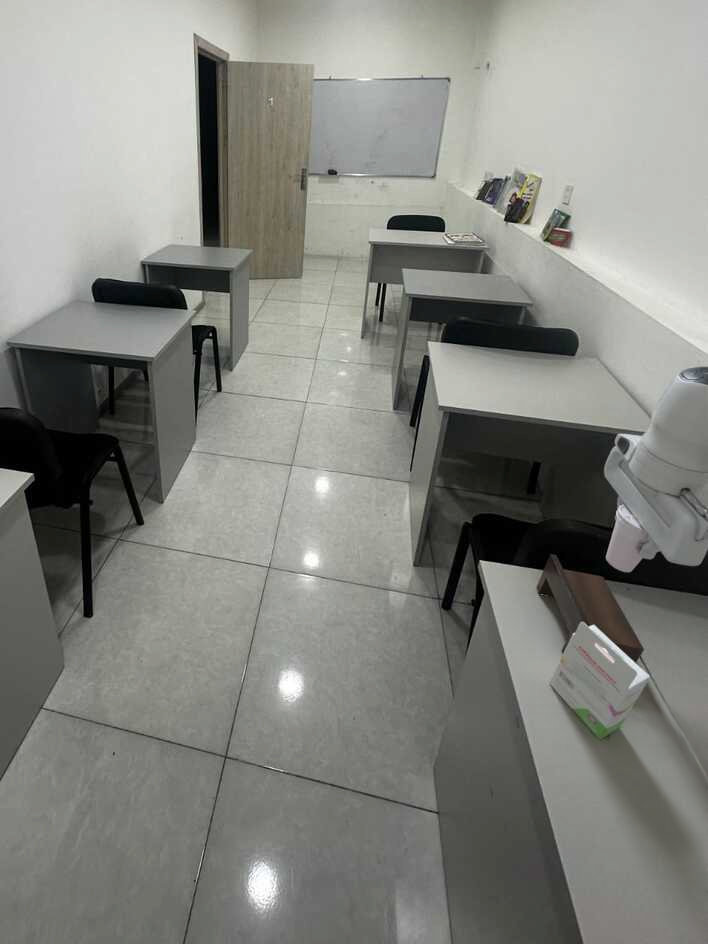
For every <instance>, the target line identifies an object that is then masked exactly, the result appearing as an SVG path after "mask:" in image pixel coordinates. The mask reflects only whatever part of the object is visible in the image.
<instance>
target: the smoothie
mask: <svg viewBox="0 0 708 944" xmlns="http://www.w3.org/2000/svg"><path fill="white" fill-rule="evenodd" d="M615 512H616V513H615V516H616V515H617V520H615V524H614V527H613V530H612V534H611V539H610V541H609V544H608V548H607V552H606V555H605V560H606V561H607V563H608V564H609V565H610V566H611V567H612V568H614V569H616V570H618V571H620V572H623V573H631V572H633V570H634V569H636V566H638V564H639V563H640V562H641V561H642V559H643V558H642V557H641V556H640V555H639V553H638V552H637V550H636V547H638V544H639V542H642V543H648V542H649V541H648V540H647V538H648V536H649V535H648V534H647V532H646V531H645V530H644V528H643V527H642V526H641V524H640V523H639V522H638V520H637V519H636V518H635V516H634V515H633V514H632V512H631V511H630V510H629V508H628V507H627V506H626V504H623V505H621V506H620V507H619V509H618V510H616V511H615Z"/></svg>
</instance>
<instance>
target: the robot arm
mask: <svg viewBox="0 0 708 944" xmlns="http://www.w3.org/2000/svg"><path fill="white" fill-rule="evenodd" d="M650 419H651V422H650V426H649V427H648V429H647V430H646V431H645V432H644V433H643V434H642V435H636V434H628V433H618V434H617V435H616V437H615V440H614V444H615V445H614V446H613V447H612V449H611V450H610V453H609V455H608V456H607V459H606V461H605V464H604V468H603V473H604V478H605V479H606V480H607V481H608V483H609V484H610V485H611V487H612V489H613V490H614V491H615V492H616V493H617V495H618V496H617V499H616V500H617V502H616V504H617V505H616V506H617V507H616V509H617V510H618V509H619V507H620V506H621V505H623V504H626V506H627V507H628V508H629V510H630V511H631V512H632V514H633V515H634V516H635V518H636V519H637V520H638V522H639V523H640V524H641V526H642V527H643V528H644V530H645V531H646V532H647V534H648V535H649V536H648V538H647V540H648V541H649V542H648V543H642V542H639V544H638V547H636V550H637V552H638V553H639V555H640V556H641V557H642V559H645V560H652V559H654V558H655V557H656V554H657V553H659V552H660V553H661V554H662V555H663V556H664V558H665V560H666V561H667V562H670V563H672V564H676V565H680V566H681V565H682V566H688V567H697V566H699V565H701V564H702V562H703V560H704V558H705V557H706V554H707V552H708V507H707V506H706V505H704V504H703V503H702V502H701V501H700V499H699V497H700V496H702V494H703V492H704V490H705V489H706V487H707V485H708V366H695V367H690V368H686V369H684V370H682V371H680V372H679V373H678V374H676V376H675V377H674V378H672V380H671V381H670V382H669V384H668V386H667V387H666V388H665V390H664V391H663V393H662V395H661V397H660V399H659V400H658V402H657V404H656V405H655V407H654V410H653V411H652V413H651V418H650ZM617 510H616V511H617ZM614 520H615V521H616V520H617V515H616V514H615V516H614Z"/></svg>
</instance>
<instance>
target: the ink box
mask: <svg viewBox="0 0 708 944" xmlns="http://www.w3.org/2000/svg"><path fill="white" fill-rule="evenodd" d="M650 678H651V676H650V675H649V674H648V673H647V672H646V671H645V670H644V669H642V668H641V667H640V666H639V664H637V662H636V663H635V662H634V661H633V660H632V659H630V658H629V657H628V656H627V655H626V654H625V653H624V652H623V651H622V650H621V649H620V648H618V647H617V646H616V645H615V644H614V643H613V642H612V641H611V640H610V639H609V638H608V637H607V636H606V635H604V634H603V633H602V632H601V631H600V630H599V629H598V628H597V627H596V626H595V625H591V626H589V627H588V626H587V625H586V624H585V623H584V622H581V623H580V624H579V626H578V628H577V630H576V632H575V633H573V635H572V637H571V639H570V641H569V643H568V645H567V647H566V649H565V651H564V653H563V654H562V656H561V657H560V660H559V662H558V663H557V665H556V667H555V670H554V672H553V673H552V676H551V678H550V680H549V685H550V686H551V687H552V688H553V690H554V691H555V692H556V693H557V694H558V695H559V696H560V697H561V698H562V699H563V700H564V702H565V703H566V704H567V705H568V706H569V707H570V708H571V710H572V711H573V712H574V713H575V714H576V715H577V716H578V717H579V719H580V720H581V721H582V722H583V723H584V725H586V726H587V728H588V729H589V730H590V731H591V732H592V733H593V734H594V736H596V738H597V739H598V740H600V741H601V740H602V739H604V738H605V737H606V736H608V735H610V734H611V733H613V732H614V731H616V730H617V729H619V728H621V726H622V724H623V723H624V721H625V720H626V718H627V717H628V715H629V714H630V712H631V710H632V708H633V707H634V705H635V703H636V702H637V700H638V699H639V697H640V696H641V693H643V690H644V688H645V687H646V685H647V684H648V682H649V680H650Z"/></svg>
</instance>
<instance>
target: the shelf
mask: <svg viewBox="0 0 708 944" xmlns="http://www.w3.org/2000/svg"><path fill="white" fill-rule="evenodd" d="M536 588H537V590H538V592H537V594H538V593H539V594H543V595H548V596H552V597H551V598H553V597H555V598H554V599H555V603H556V604H557V606H558V609H559V611H560V613H561V616H562V618H563V620H564V622H565V624H566V627H567V630H568V631H569V634H568V637H567V638H566V640H565V642H564V645H563V646H562V648H561V650H560V651H561V653H562V655H563V653H564V651H565V649H566V647H567V645H568V643H569V641H570V639H571V637H572V635H573V633H575V632H576V630H577V628H578V626H579V624H580V623H581V622H584V623H585V624H586V625H587V626H588V627H589V626H591V625H595V626H596V627H597V628H598V629H599V630H600V631H601V632H602V633H603V634H604V635H606V636H607V637H608V638H609V639H610V640H611V641H612V642H613V643H614V644H615V645H616V646H617V647H618V648H620V649H621V650H622V651H623V652H624V653H625V654H626V655H627V656H628V657H629V658H630V659H632V660H633V661H634V662H635V663H636V664H637V662H638V661H639V658H640V657H641V655H642V654H643V653H644V650H645V648H644V646H643V645H642V643H641V641H640V640H639V638H638V636H637V634H636V633H635V631H634V628H633V627H632V626H631V624H630V622H629V620H628V618H627V617H626V615H625V613H624V611H623V609H622V608H621V606H620V604H619V603H618V601H617V599H616V597H615V596H614V594H613V592H612V590H611V589H610V587H609V585H608V583H607V581H606V580H605V578H604V576H601V575H597V574H590V573H585V572H580V571H574V570H569V569H564V568H563V566H562V563H561V562H560V559H559V558H558V556H557V555H556V554H552V553H551V554H549V557H548V559H547V561H546V564H545V566H544V568H543V570H542V573H541V575H540V578H539V580H538V583H537V584H536V587H535V589H536ZM537 590H536V591H537ZM543 595H542V596H543ZM548 596H547V597H548Z"/></svg>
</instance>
